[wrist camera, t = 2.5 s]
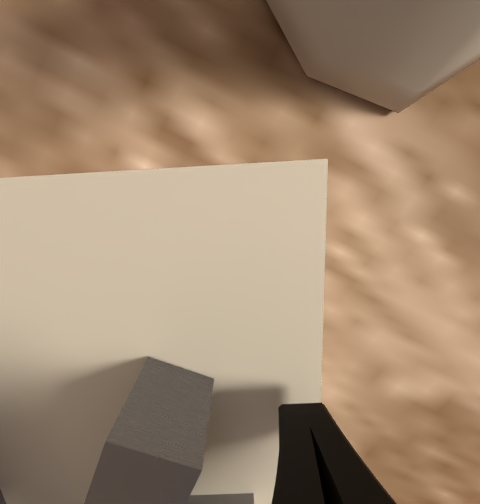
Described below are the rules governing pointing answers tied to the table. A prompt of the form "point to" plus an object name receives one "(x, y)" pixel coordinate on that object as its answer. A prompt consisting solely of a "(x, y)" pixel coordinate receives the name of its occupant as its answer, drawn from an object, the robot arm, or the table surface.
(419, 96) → the flask
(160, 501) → the block
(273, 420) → the hearth board
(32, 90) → the table surface
